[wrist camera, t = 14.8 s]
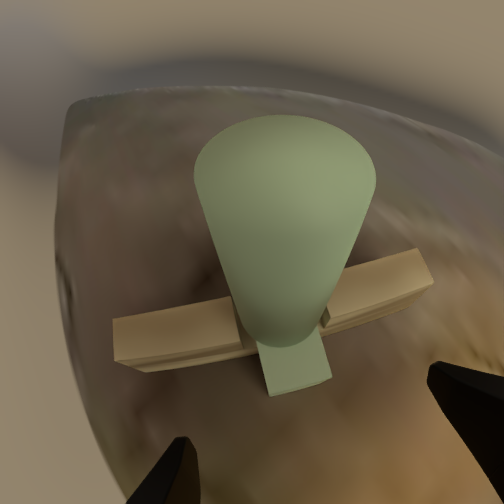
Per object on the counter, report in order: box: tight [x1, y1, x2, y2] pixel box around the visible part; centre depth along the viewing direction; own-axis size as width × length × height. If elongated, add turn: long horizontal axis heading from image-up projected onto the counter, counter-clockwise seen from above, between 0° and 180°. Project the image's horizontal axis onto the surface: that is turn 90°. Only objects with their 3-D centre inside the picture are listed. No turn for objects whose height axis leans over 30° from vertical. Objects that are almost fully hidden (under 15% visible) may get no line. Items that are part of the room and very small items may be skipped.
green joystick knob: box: [194, 115, 376, 397], centre depth 11 cm, size 8×4×13 cm, turn 12°
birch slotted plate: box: [113, 248, 434, 372], centre depth 15 cm, size 2×18×4 cm, turn 102°
